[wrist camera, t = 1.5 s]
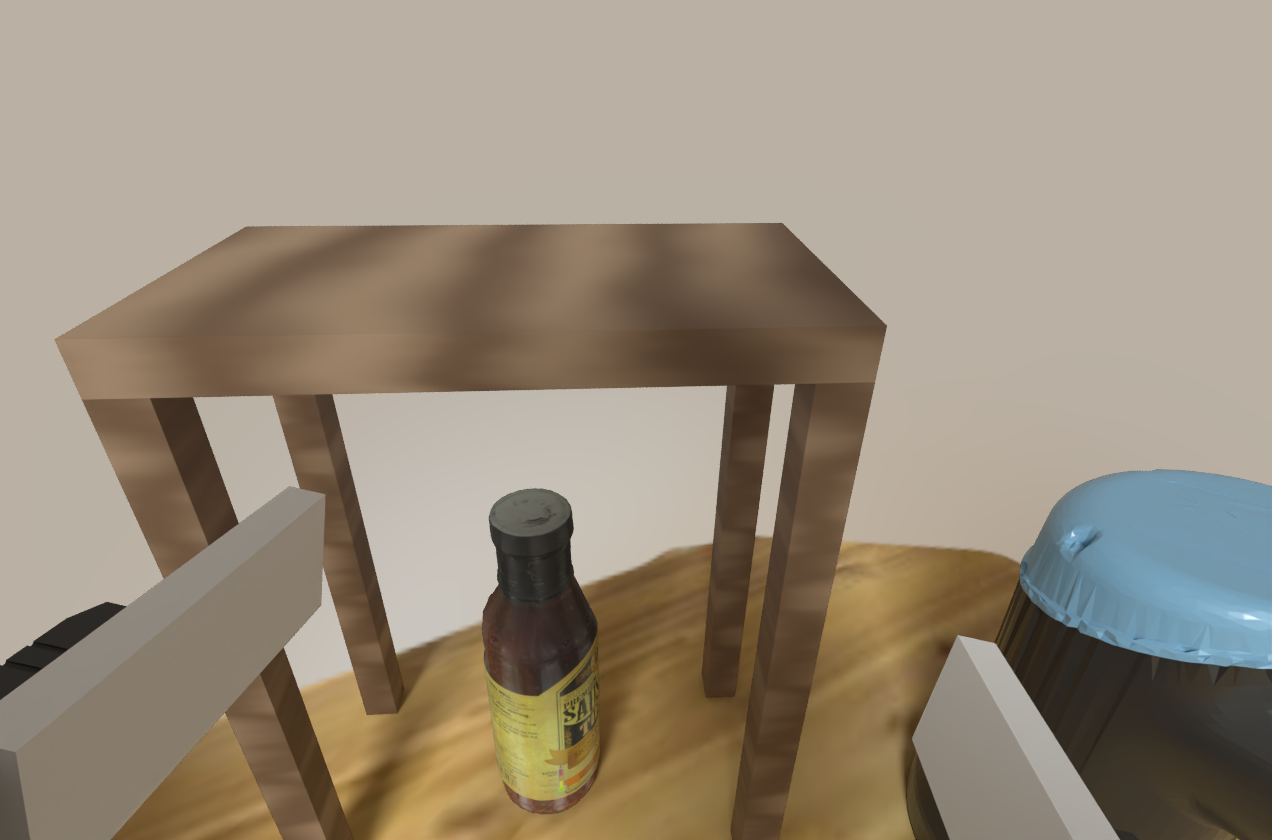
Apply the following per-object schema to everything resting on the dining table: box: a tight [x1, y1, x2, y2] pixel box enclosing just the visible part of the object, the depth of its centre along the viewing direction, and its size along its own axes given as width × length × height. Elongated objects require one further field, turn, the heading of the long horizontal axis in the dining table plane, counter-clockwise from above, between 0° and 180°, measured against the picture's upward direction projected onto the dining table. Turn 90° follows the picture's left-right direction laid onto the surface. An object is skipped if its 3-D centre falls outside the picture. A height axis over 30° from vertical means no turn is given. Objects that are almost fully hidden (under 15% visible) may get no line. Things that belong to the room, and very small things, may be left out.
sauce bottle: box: [482, 489, 600, 814], centre depth 37 cm, size 7×6×20 cm
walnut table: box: [55, 223, 887, 840], centre depth 34 cm, size 25×13×32 cm, turn 94°
